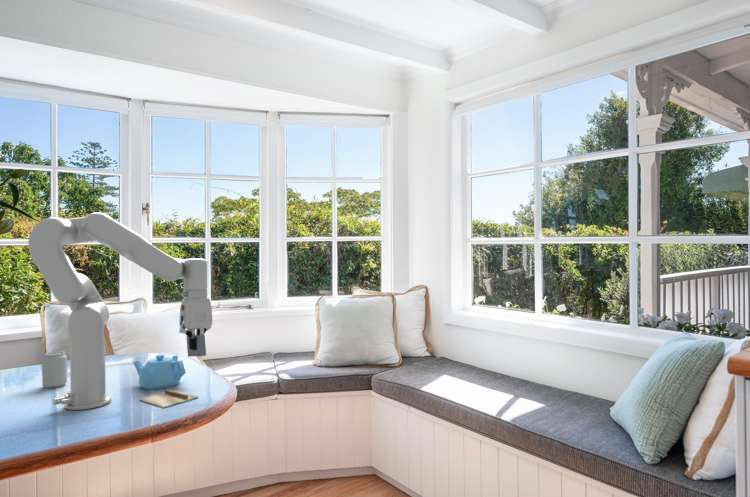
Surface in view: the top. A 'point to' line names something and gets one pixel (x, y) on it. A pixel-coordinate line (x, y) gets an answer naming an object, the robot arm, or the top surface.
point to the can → (54, 369)
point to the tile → (200, 346)
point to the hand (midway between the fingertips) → (195, 348)
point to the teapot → (160, 372)
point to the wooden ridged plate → (168, 398)
